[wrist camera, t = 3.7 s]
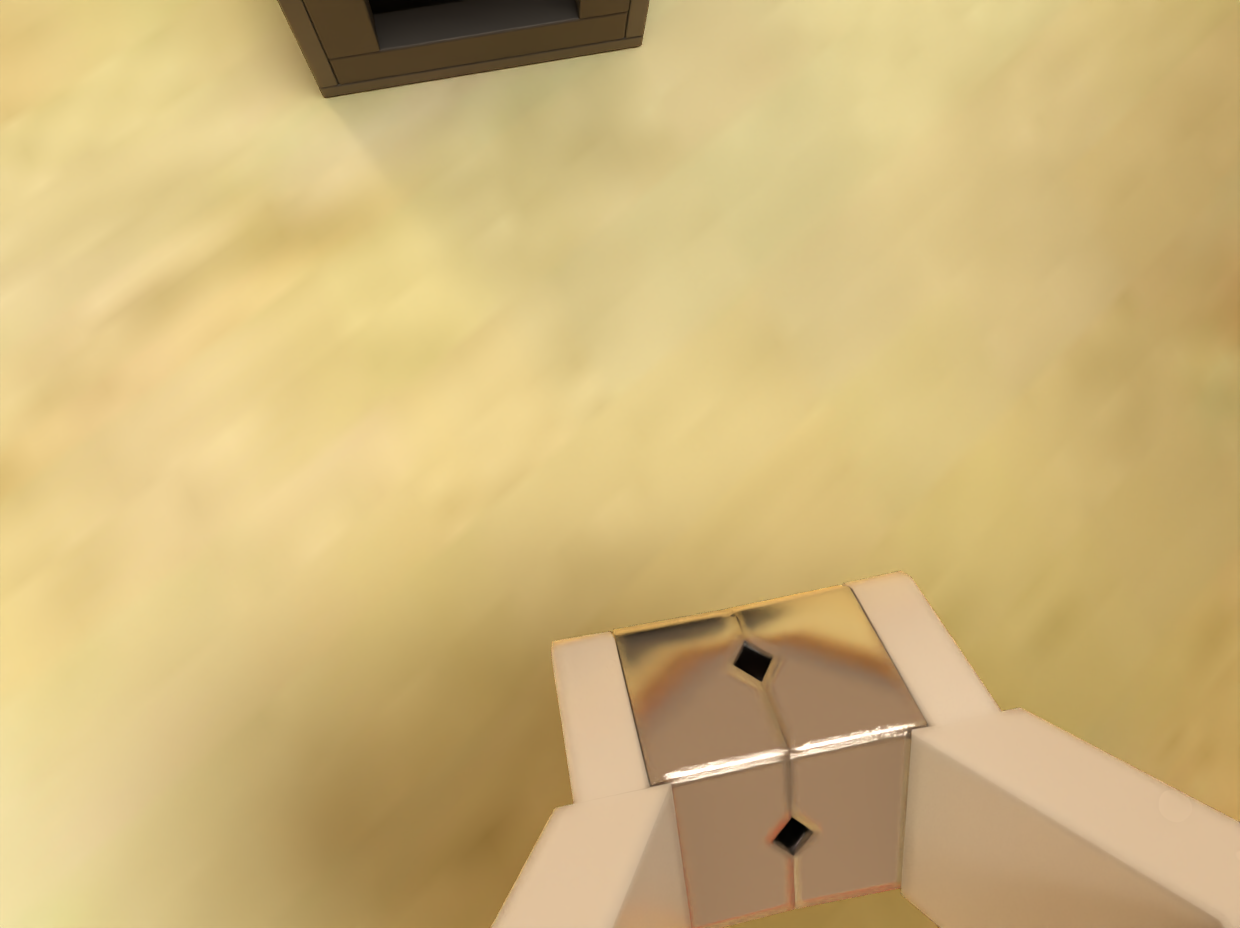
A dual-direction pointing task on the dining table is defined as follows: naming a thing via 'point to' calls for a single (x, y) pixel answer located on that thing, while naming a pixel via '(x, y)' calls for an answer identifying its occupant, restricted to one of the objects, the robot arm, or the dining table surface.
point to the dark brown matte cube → (450, 36)
